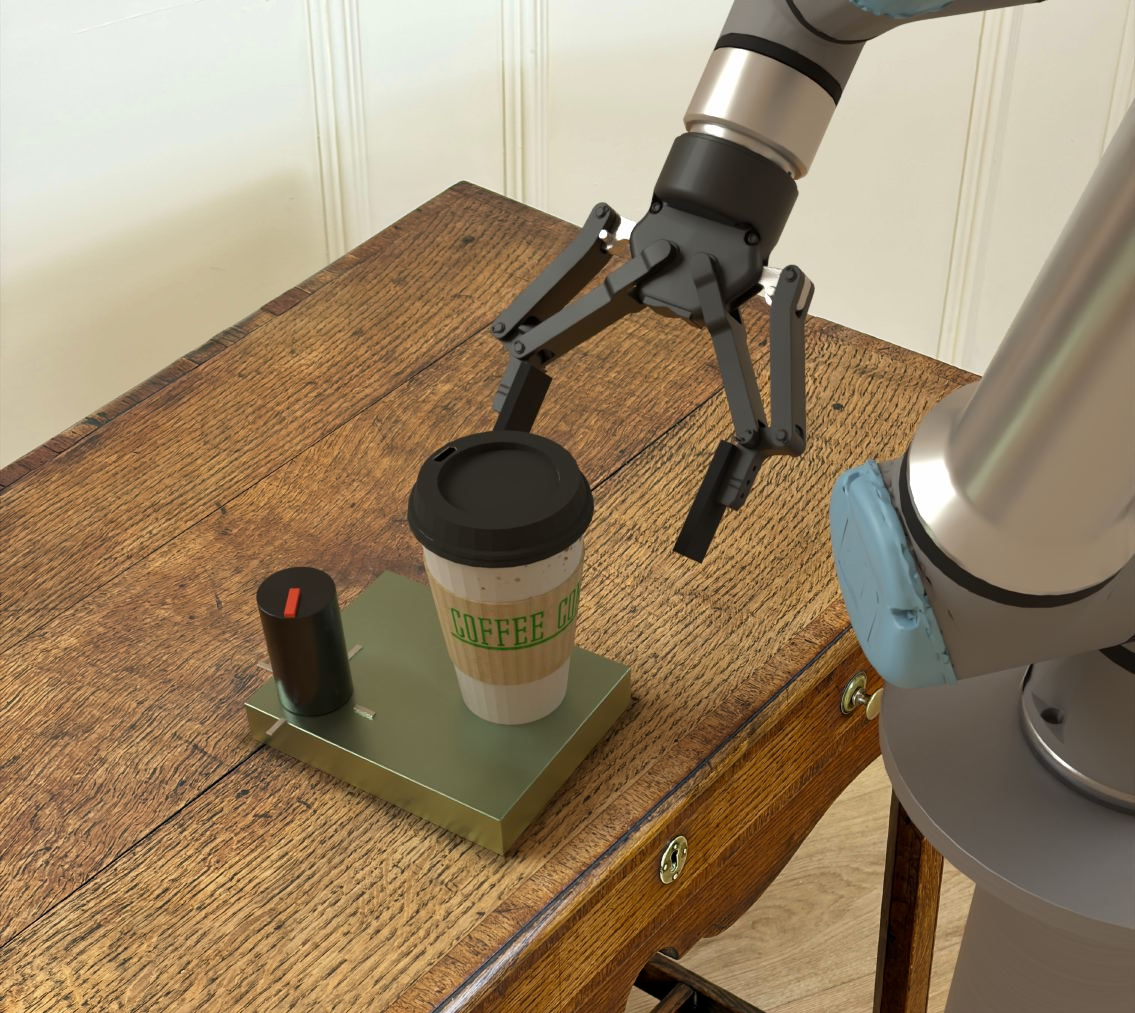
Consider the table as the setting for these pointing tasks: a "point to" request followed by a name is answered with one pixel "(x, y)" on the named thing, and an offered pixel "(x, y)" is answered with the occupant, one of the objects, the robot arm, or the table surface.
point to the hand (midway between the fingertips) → (586, 515)
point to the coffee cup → (504, 566)
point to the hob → (439, 723)
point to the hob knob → (305, 640)
